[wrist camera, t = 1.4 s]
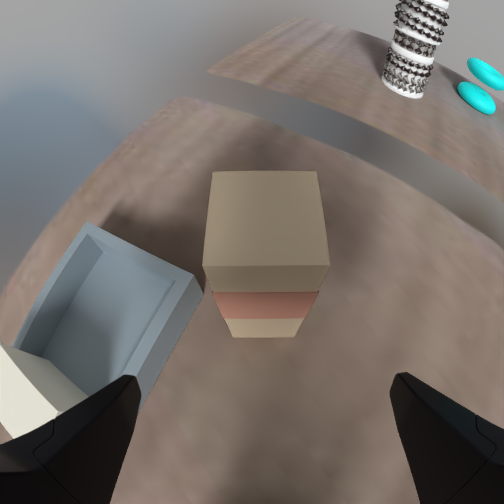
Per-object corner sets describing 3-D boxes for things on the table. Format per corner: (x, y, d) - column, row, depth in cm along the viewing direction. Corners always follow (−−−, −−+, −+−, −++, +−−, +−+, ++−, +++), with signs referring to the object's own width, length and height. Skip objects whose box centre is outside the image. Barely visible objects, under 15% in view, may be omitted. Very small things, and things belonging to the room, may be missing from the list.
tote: (101, 483, 16) (77, 492, 12) (17, 402, 18) (-9, 397, 15) (203, 294, 24) (194, 274, 21) (105, 243, 27) (87, 221, 23)
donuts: (505, 74, 34) (511, 88, 30) (490, 106, 42) (494, 123, 39) (468, 51, 37) (470, 60, 33) (456, 84, 45) (455, 98, 42)
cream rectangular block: (87, 455, 16) (36, 464, 10) (30, 400, 18) (-22, 389, 12) (109, 412, 19) (57, 411, 12) (49, 360, 20) (-3, 341, 14)
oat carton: (294, 337, 22) (331, 266, 11) (232, 337, 22) (200, 267, 11) (292, 280, 24) (317, 170, 13) (234, 280, 25) (211, 171, 13)
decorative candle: (370, 73, 43) (390, -42, 21) (406, 76, 44) (430, -27, 22) (396, 98, 39) (428, -31, 17) (433, 101, 40) (468, -12, 18)
